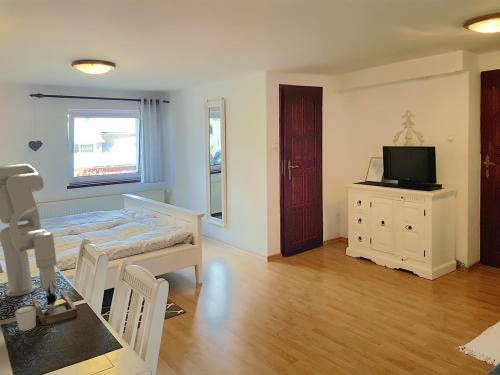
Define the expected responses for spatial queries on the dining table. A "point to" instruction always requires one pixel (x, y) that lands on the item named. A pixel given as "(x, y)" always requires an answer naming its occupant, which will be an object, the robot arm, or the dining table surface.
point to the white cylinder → (26, 318)
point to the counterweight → (56, 310)
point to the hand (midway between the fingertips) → (51, 303)
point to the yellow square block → (58, 304)
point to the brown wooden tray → (57, 316)
